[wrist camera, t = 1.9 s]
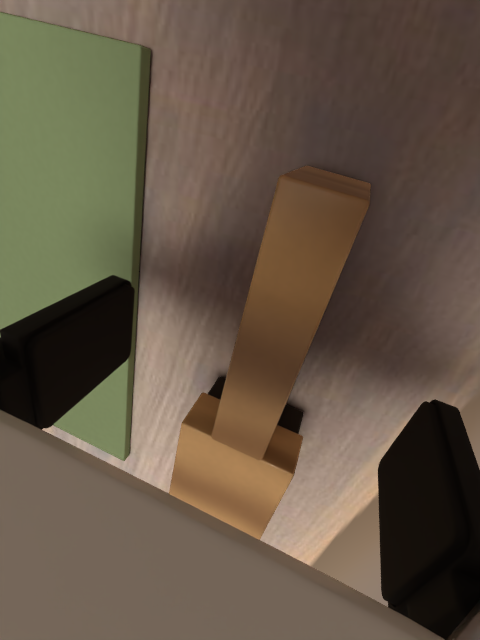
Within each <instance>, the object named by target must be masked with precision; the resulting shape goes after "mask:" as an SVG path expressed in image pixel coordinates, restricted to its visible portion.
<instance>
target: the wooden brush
mask: <svg viewBox="0 0 480 640" xmlns="http://www.w3.org/2000/svg"><path fill="white" fill-rule="evenodd" d="M370 191H371V184H369V183H367V182H364V181H360V180H357V179H353V178H349V177H346V176H342V175H339V174H335V173H332V172H328V171H325V170H321V169H318V168H314V167H311V166H304V167H301V168H299V169H296V170H293V171H291V172H288V173H285V174H283V175H280V177H279V178H278V182H277V186H276V190H275V193H274V197H273V201H272V205H271V209H270V213H269V216H268V220H267V224H266V228H265V232H264V235H263V239H262V243H261V247H260V251H259V254H258V258H257V262H256V266H255V270H254V274H253V277H252V281H251V285H250V289H249V293H248V296H247V300H246V304H245V308H244V312H243V316H242V319H241V323H240V327H239V331H238V335H237V338H236V342H235V346H234V350H233V354H232V357H231V361H230V365H229V369H228V373H227V377H226V379H225V378H223V377H219V378H218V379H217V381H216V382H215V384H214V385H213V387H212V388H211V390H210V392H209V393H208V394H206V393H202V394H201V395H200V397H199V398H198V400H197V401H196V402H195V404H194V405H193V407H192V408H191V410H190V411H189V413H188V414H187V416H186V417H185V419H184V420H183V422H182V424H181V430H180V435H179V441H178V446H177V452H176V457H175V463H174V469H173V474H172V480H171V485H170V491H169V494H170V495H172V496H174V497H176V498H178V499H180V500H182V501H184V502H186V503H188V504H190V505H192V506H194V507H196V508H198V509H200V510H202V511H204V512H206V513H208V514H210V515H212V516H213V517H215V518H217V519H219V520H221V521H223V522H225V523H227V524H229V525H231V526H233V527H235V528H237V529H239V530H241V531H243V532H245V533H247V534H249V535H251V536H253V537H254V538H256V539H258V540H260V538H261V536H262V534H263V533H264V531H265V529H266V527H267V525H268V523H269V521H270V519H271V517H272V516H273V514H274V512H275V510H276V508H277V506H278V504H279V502H280V501H281V499H282V497H283V495H284V493H285V491H286V489H287V487H288V485H289V484H290V482H291V480H292V478H293V476H294V473H295V469H296V465H297V461H298V457H299V452H300V448H301V444H302V440H303V436H301V435H299V434H298V433H299V429H300V425H301V421H302V417H303V412H302V411H300V410H298V409H295V408H293V407H291V406H288V405H286V402H287V400H288V397H289V395H290V393H291V390H292V388H293V386H294V383H295V381H296V378H297V376H298V374H299V371H300V369H301V367H302V364H303V362H304V359H305V357H306V355H307V352H308V350H309V348H310V345H311V343H312V340H313V338H314V336H315V333H316V331H317V329H318V326H319V324H320V321H321V319H322V317H323V314H324V312H325V310H326V307H327V305H328V302H329V300H330V298H331V295H332V293H333V291H334V288H335V286H336V283H337V281H338V279H339V276H340V274H341V272H342V269H343V267H344V264H345V262H346V260H347V257H348V255H349V253H350V250H351V248H352V245H353V243H354V241H355V238H356V236H357V234H358V231H359V229H360V226H361V224H362V222H363V219H364V217H365V215H366V212H367V210H368V207H369V205H370Z"/></svg>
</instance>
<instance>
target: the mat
mask: <svg viewBox="0 0 480 640" xmlns="http://www.w3.org/2000/svg"><path fill="white" fill-rule="evenodd" d="M150 56H151V51H150V49H148V48H146V47H144V46H141V45H137V44H133V43H129V42H125V41H121V40H116V39H112V38H108V37H104V36H100V35H95V34H91V33H87V32H83V31H79V30H74V29H70V28H66V27H62V26H57V25H53V24H49V23H45V22H41V21H36V20H32V19H28V18H24V17H20V16H15V15H11V14H7V13H3V12H0V329H2V328H5V327H7V326H9V325H11V324H13V323H15V322H17V321H19V320H21V319H23V318H25V317H27V316H29V315H31V314H33V313H35V312H37V311H39V310H41V309H43V308H45V307H47V306H50V305H52V304H54V303H56V302H58V301H60V300H62V299H64V298H66V297H68V296H70V295H72V294H74V293H76V292H78V291H80V290H82V289H84V288H86V287H88V286H90V285H92V284H95V283H97V282H99V281H101V280H103V279H105V278H107V277H109V276H111V275H115V276H118V277H120V278H123V279H126V280H128V281H130V282H131V285H132V287H133V288H134V289H135V297H134V313H133V329H132V345H131V353H130V356H129V358H128V359H127V360H126V362H124V363H123V364H122V365H121V366H120V367H119V368H118V369H116V370H115V371H114V372H113V373H112V374H111V375H109V376H108V377H107V378H106V379H105V380H104V381H103V382H101V383H100V384H99V385H98V386H97V387H96V388H95V389H93V390H92V391H91V392H90V393H89V394H88V395H87V396H85V397H84V398H83V399H82V400H81V401H80V402H79V403H77V404H76V405H75V406H74V407H73V408H72V409H70V410H69V411H68V412H67V413H66V414H65V415H64V416H62V417H61V418H60V419H59V420H58V421H57V422H56V423H54V424H53V425H54V426H56V427H58V428H60V429H62V430H63V431H65V432H67V433H69V434H71V435H73V436H75V437H77V438H79V439H81V440H83V441H85V442H87V443H89V444H91V445H93V446H95V447H97V448H99V449H101V450H103V451H105V452H107V453H109V454H111V455H113V456H115V457H117V458H119V459H121V460H123V461H125V460H126V458H127V457H128V456H129V451H130V432H131V413H132V394H133V376H134V357H135V338H136V319H137V300H138V282H139V263H140V244H141V225H142V207H143V188H144V169H145V150H146V131H147V113H148V94H149V75H150ZM0 337H1V335H0Z"/></svg>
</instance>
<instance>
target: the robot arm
mask: <svg viewBox="0 0 480 640" xmlns="http://www.w3.org/2000/svg"><path fill="white" fill-rule="evenodd" d="M134 297H135V289H134V288H133V287H132V285H131V282H130V281H128V280H126V279H123V278H120V277H118V276H115V275H111V276H109V277H107V278H105V279H103V280H101V281H99V282H97V283H95V284H92V285H90V286H88V287H86V288H84V289H82V290H80V291H78V292H76V293H74V294H72V295H70V296H68V297H66V298H64V299H62V300H60V301H58V302H56V303H54V304H52V305H50V306H47V307H45V308H43V309H41V310H39V311H37V312H35V313H33V314H31V315H29V316H27V317H25V318H23V319H21V320H19V321H17V322H15V323H13V324H11V325H9V326H7V327H5V328H2V329H0V335H1V337H0V640H480V470H479V467H478V464H477V461H476V458H475V455H474V452H473V450H472V447H471V444H470V441H469V438H468V435H467V432H466V429H465V426H464V423H463V421H462V418H461V415H460V412H459V410H458V408H456V407H454V406H451V405H448V404H446V403H443V402H441V401H438V400H432V401H431V402H430V403H429V402H426V401H425V402H423V403H422V404H421V405H420V407H419V408H418V410H417V411H416V412H415V414H414V415H413V416H412V418H411V419H410V421H409V422H408V423H407V425H406V426H405V427H404V429H403V430H402V432H401V433H400V434H399V436H398V437H397V438H396V440H395V441H394V443H393V444H392V445H391V447H390V448H389V449H388V451H387V452H386V454H385V455H384V456H383V458H382V459H381V461H380V464H379V467H378V489H379V522H380V523H379V524H380V557H381V590H382V596H383V599H384V600H386V601H388V607H387V606H385V605H383V604H381V603H379V602H377V601H375V600H373V599H372V598H370V597H368V596H366V595H364V594H362V593H360V592H358V591H357V590H355V589H353V588H351V587H349V586H347V585H345V584H344V583H342V582H340V581H338V580H336V579H334V578H332V577H330V576H328V575H326V574H324V573H323V572H321V571H318V570H317V569H315V568H313V567H311V566H309V565H307V564H305V563H303V562H301V561H299V560H297V559H295V558H293V557H291V556H289V555H288V554H286V553H284V552H282V551H280V550H278V549H276V548H274V547H272V546H270V545H268V544H266V543H264V542H262V541H260V540H258V539H256V538H254V537H253V536H251V535H249V534H247V533H245V532H243V531H241V530H239V529H237V528H235V527H233V526H231V525H229V524H227V523H225V522H223V521H221V520H219V519H217V518H215V517H213V516H212V515H210V514H208V513H206V512H204V511H202V510H200V509H198V508H196V507H194V506H192V505H190V504H188V503H186V502H184V501H182V500H180V499H178V498H176V497H174V496H172V495H170V494H168V493H166V492H164V491H162V490H160V489H158V488H156V487H154V486H152V485H150V484H149V483H147V482H145V481H143V480H141V479H139V478H137V477H135V476H133V475H131V474H129V473H127V472H125V471H123V470H121V469H119V468H117V467H115V466H113V465H111V464H109V463H107V462H105V461H103V460H101V459H99V458H97V457H95V456H93V455H91V454H89V453H87V452H85V451H83V450H81V449H79V448H77V447H75V446H73V445H71V444H69V443H67V442H65V441H63V440H61V439H59V438H57V437H55V436H53V435H51V434H49V433H47V432H45V431H43V430H42V429H43V428H49V427H51V426H52V425H53V424H54V423H56V422H57V421H58V420H59V419H60V418H61V417H62V416H64V415H65V414H66V413H67V412H68V411H69V410H70V409H72V408H73V407H74V406H75V405H76V404H77V403H79V402H80V401H81V400H82V399H83V398H84V397H85V396H87V395H88V394H89V393H90V392H91V391H92V390H93V389H95V388H96V387H97V386H98V385H99V384H100V383H101V382H103V381H104V380H105V379H106V378H107V377H108V376H109V375H111V374H112V373H113V372H114V371H115V370H116V369H118V368H119V367H120V366H121V365H122V364H123V363H124V362H126V360H127V359H128V358H129V356H130V353H131V345H132V329H133V313H134Z"/></svg>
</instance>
